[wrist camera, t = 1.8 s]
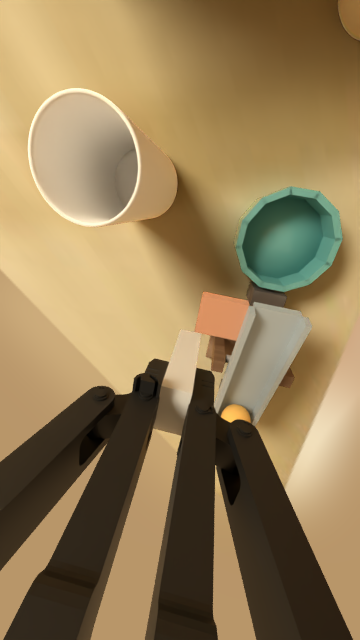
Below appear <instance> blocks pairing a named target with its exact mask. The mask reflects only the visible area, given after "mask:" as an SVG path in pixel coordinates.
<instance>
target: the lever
mask: <svg viewBox="0 0 360 640" xmlns="http://www.w3.org/2000/svg"><path fill="white" fill-rule="evenodd" d="M311 329H312V325H311V323H310V320H309V318H307V317H303V316H302V313H301V311H297V310H292V309H287V308H282V307H277V306H272V305H267V304H262V303H258V302H254V303H253V306H249V301H248V300H243V299H238V298H233V297H228V296H223V295H218V294H214V293H209V292H204V291H203V294H202V299H201V304H200V308H199V313H198V318H197V322H196V327H195V332H198V333H202V334H207V335H212V336H216V337H221V338H226V339H230V340H235V341H236V343H235V346H234V349H233V352H232V355H226V358H225V362H227V363H228V366H227V369H226V371H225V374H224V377H223V380H222V383H221V385H220V388H219V391H218V394H217V397H216V399H215V402H214V408H215V410H216V413H217V414H218V415H219V416H220V417H221V415H222V412H223V410H224V409H225V408H226V407H227V406H229V405H231V404H238V405H241V406H243V407H244V408H245V409H246V410H247V411H248V413H249V415H250V419H251V424H252V425H253V426H256V424H257V422H258V421H259V419H260V417H261V415H262V414H263V412H264V410H265V408H266V407H267V405H268V403H269V401H270V400H271V398H272V396H273V395H274V393H275V391H276V389H277V388H278V386H279V384H280V382H281V381H282V379H283V377H284V375H285V374H286V372H287V370H288V369H289V367H290V365H291V363H292V362H293V360H294V358H295V356H296V355H297V353H298V351H299V349H300V348H301V346H302V344H303V343H304V341H305V339H306V337H307V336H308V334H309V332H310V330H311Z"/></svg>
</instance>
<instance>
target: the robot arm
mask: <svg viewBox="0 0 360 640" xmlns="http://www.w3.org/2000/svg"><path fill="white" fill-rule="evenodd" d="M200 339H201V333H196V332H192V331H188V330H183V329H180V332H179V335H178V338H177V341H176V344H175V347H174V350H173V353H172V356H171V359H170V362H167V361H163V360H159V359H154V360H152V361H151V362H149V364H148V366H147V368H146V371H145V373H142V374H139V375H137V376H136V377H135V378H134V383H133V391H132V393H129V394H124V395H115V393H114V391H113V390H112V389H111V388H109V387H106V386H97V387H93V388H91V389H90V390H88V391H87V392H86V393H85V394H83V395H82V396H81V397H80V398H78V399H77V400H76V401H75V402H73V403H72V404H71V405H70V406H69V407H67V408H66V409H65V410H64V411H62V412H61V413H60V414H59V415H58V416H56V417H55V418H54V419H53V420H51V421H50V422H49V423H48V424H46V425H45V426H44V427H43V428H42V429H40V430H39V431H38V432H37V433H36V434H34V435H33V436H32V437H31V438H29V439H28V440H27V441H26V442H24V443H23V444H22V445H21V446H19V447H18V448H17V449H16V450H15V451H13V452H12V453H11V454H10V455H9V456H7V457H6V458H5V459H4V460H2V461H1V462H0V570H1V569H2V568H3V567H4V565H5V564H6V563H7V562H8V561H9V559H10V558H11V557H12V556H13V555H14V554H15V553H16V551H17V550H18V549H19V548H20V547H21V545H22V544H23V543H24V542H25V541H26V539H27V538H28V537H29V536H30V535H31V533H32V532H33V531H34V530H35V529H36V527H37V526H38V525H39V524H40V523H41V521H42V520H43V519H44V518H45V516H46V515H47V514H48V513H49V512H50V511H51V509H52V508H53V507H54V506H55V505H56V503H57V502H58V501H59V500H60V499H61V497H62V496H63V495H64V494H65V493H66V491H67V490H68V489H69V488H70V487H71V486H72V484H73V483H74V482H75V481H76V479H77V478H78V477H79V476H80V475H81V473H82V472H83V471H84V470H85V469H86V468H87V466H88V465H89V464H90V463H91V461H92V460H93V459H94V458H95V457H96V456H97V454H98V453H99V452H100V451H101V450H102V448H103V447H104V446H105V445H106V444H107V445H106V447H105V449H104V451H103V453H102V455H101V457H100V460H99V461H98V463H97V465H96V467H95V470H94V471H93V474H92V476H91V478H90V480H89V482H88V484H87V486H86V488H85V490H84V492H83V494H82V496H81V498H80V500H79V502H78V504H77V506H76V508H75V511H74V513H73V515H72V517H71V519H70V521H69V523H68V525H67V527H66V529H65V531H64V533H63V535H62V537H61V539H60V541H59V543H58V545H57V547H56V550H55V551H54V553H53V555H52V558H51V559H50V562H49V563H48V565H47V566H46V568H45V569H44V570H43V571H42V572H41V573H39V574H38V576H37V577H36V579H35V580H34V581H33V583H32V585H31V587H30V589H29V590H28V592H27V594H26V596H25V598H24V600H23V602H22V604H21V606H20V608H19V610H18V612H17V614H16V616H15V618H14V620H13V622H12V624H11V626H10V628H9V630H8V632H7V634H6V635H5V637H4V640H90V638H91V634H92V631H93V627H94V623H95V620H96V617H97V614H98V610H99V607H100V603H101V600H102V597H103V594H104V591H105V587H106V584H107V581H108V577H109V574H110V571H111V568H112V564H113V561H114V558H115V554H116V551H117V548H118V544H119V541H120V538H121V535H122V531H123V528H124V525H125V521H126V518H127V514H128V511H129V508H130V505H131V501H132V498H133V495H134V491H135V488H136V485H137V482H138V478H139V475H140V472H141V469H142V465H143V462H144V459H145V455H146V452H147V449H148V446H149V442H150V439H151V435H152V430H153V428H154V429H158V430H162V431H166V432H170V433H174V434H177V435H181V440H180V444H179V448H178V452H177V461H176V467H175V472H174V478H173V483H172V489H171V495H170V500H169V506H168V512H167V517H166V523H165V529H164V534H163V540H162V546H161V551H160V557H159V563H158V569H157V574H156V580H155V585H154V591H153V597H152V602H151V608H150V614H149V619H148V625H147V631H146V636H145V640H218V636H217V628H216V625H215V622H214V619H213V558H214V556H213V555H214V501H215V465H216V469H217V473H218V478H219V482H220V486H221V490H222V495H223V499H224V503H225V507H226V512H227V516H228V520H229V524H230V529H231V533H232V537H233V541H234V546H235V550H236V554H237V559H238V563H239V567H240V571H241V575H242V580H243V584H244V588H245V593H246V597H247V601H248V606H249V610H250V614H251V618H252V623H253V627H254V631H255V636H256V639H257V640H353V639H352V636H351V634H350V632H349V630H348V628H347V626H346V623H345V621H344V619H343V617H342V615H341V612H340V610H339V608H338V606H337V604H336V601H335V599H334V597H333V595H332V593H331V590H330V588H329V586H328V584H327V582H326V579H325V578H324V575H323V573H322V571H321V568H320V566H319V564H318V562H317V560H316V558H315V555H314V553H313V551H312V549H311V546H310V544H309V542H308V540H307V538H306V536H305V533H304V531H303V529H302V527H301V524H300V522H299V520H298V518H297V516H296V514H295V511H294V509H293V507H292V505H291V502H290V500H289V498H288V496H287V494H286V492H285V489H284V487H283V485H282V483H281V481H280V478H279V476H278V474H277V472H276V470H275V467H274V465H273V463H272V461H271V459H270V456H269V454H268V452H267V450H266V448H265V445H264V443H263V441H262V439H261V437H260V434H259V432H258V430H257V429H256V427H255V426H253V425H252V424H251V423H250V422H248V421H246V420H241V419H237V420H234V421H232V422H231V423H230V422H228V421H226V420H225V419H223V418H221V417H220V416H219V415H218V414H217V413H216V410H215V408H214V381H215V377H214V375H213V374H212V372H211V371H207V370H203V369H199V368H196V366H197V359H198V352H199V346H200ZM107 442H108V443H107Z"/></svg>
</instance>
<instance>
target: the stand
mask: <svg viewBox="0 0 360 640" xmlns="http://www.w3.org/2000/svg"><path fill="white" fill-rule="evenodd" d="M247 298H248V301H249V305H250V306H253V303H254V302H258V303H262V304H267V305H272V306H277V307H282V308H283V307H284V304H285V302H286V299H287V296H286V295H285V294H284V292H282V291H277V290H272V289H267V288H262V287H259V286H258V285H257V284H256V283H255V282H253V281H250V284H249V288H248V291H247ZM235 343H236V341H235V340H230V339H226V338H221V337H216V336H212V335H211V336H210V340H209V344H208V348H207V353H206V357H209V358H212V364H211V370H212V371H216V372H221V373H222V371H223V368H224V364H225V358H226V355H232V352H233V349H234V346H235ZM222 380H223V379H222ZM222 380H221V383H222ZM293 380H294V375H293V373H292V371H291V369H290V367H289V369H288V370H287V372H286V374H285V375H284V377H283V379H282V381H281V382H280V384H279V386H283V387H288V388H290V387H291V385H292V382H293ZM221 383H220V385H221ZM219 388H220V387H219Z"/></svg>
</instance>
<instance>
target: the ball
mask: <svg viewBox="0 0 360 640" xmlns="http://www.w3.org/2000/svg"><path fill="white" fill-rule="evenodd" d="M221 418H223V419H225V420H226V421H228V422H230V423H231V422H232V421H234V420H237V419H241V420H246V421H248V422H250V423H251V419H250V415H249V413H248V411H247V410H246V409H245V408H244V407H243V406H241V405H238V404H231V405H229V406H227V407H226V408H225V409H224V410H223V412H222V415H221Z"/></svg>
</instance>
